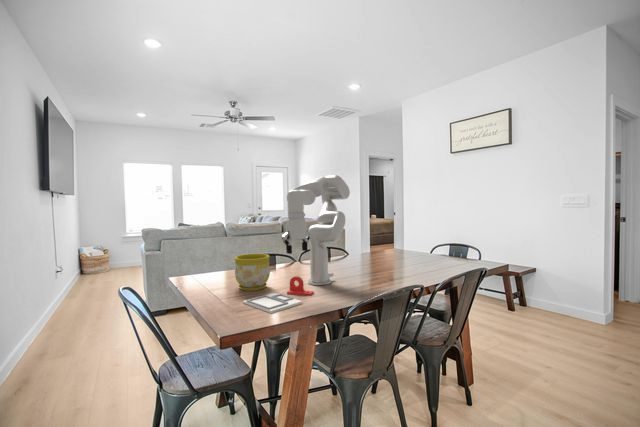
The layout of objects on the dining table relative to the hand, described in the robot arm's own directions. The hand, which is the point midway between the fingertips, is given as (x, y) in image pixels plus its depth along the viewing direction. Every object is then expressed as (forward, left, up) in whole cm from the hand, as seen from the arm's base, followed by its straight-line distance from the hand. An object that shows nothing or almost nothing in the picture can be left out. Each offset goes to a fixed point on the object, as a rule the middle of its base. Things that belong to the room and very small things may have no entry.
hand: (297, 252), depth 159 cm
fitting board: (+17, +2, -20) cm, 27 cm away
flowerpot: (+8, -27, -21) cm, 34 cm away
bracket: (-1, 0, -21) cm, 21 cm away
